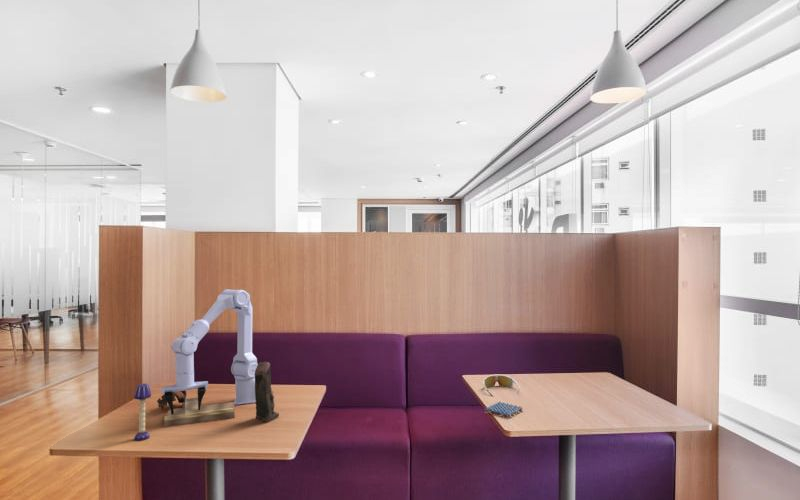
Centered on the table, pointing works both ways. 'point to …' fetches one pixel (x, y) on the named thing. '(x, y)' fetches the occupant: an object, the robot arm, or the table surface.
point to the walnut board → (201, 414)
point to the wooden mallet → (191, 405)
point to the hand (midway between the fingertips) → (185, 411)
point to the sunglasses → (499, 381)
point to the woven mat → (503, 410)
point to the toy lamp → (142, 410)
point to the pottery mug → (179, 395)
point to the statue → (264, 393)
